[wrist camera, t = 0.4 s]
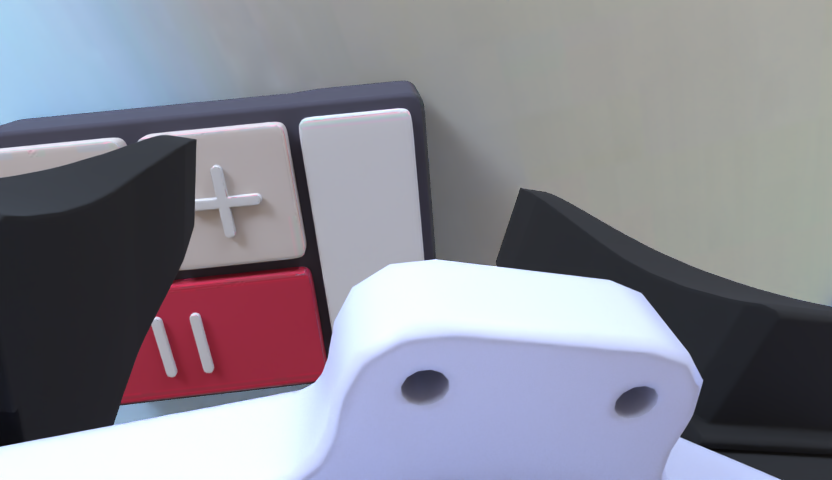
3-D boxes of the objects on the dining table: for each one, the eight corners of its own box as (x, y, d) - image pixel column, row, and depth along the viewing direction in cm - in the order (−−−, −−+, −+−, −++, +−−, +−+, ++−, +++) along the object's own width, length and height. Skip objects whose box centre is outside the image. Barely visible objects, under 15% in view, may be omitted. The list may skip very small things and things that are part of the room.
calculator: (-64, 142, 17) (425, 94, 18) (18, 117, 21) (415, 78, 22) (56, 426, 21) (447, 381, 22) (105, 361, 25) (435, 324, 26)
